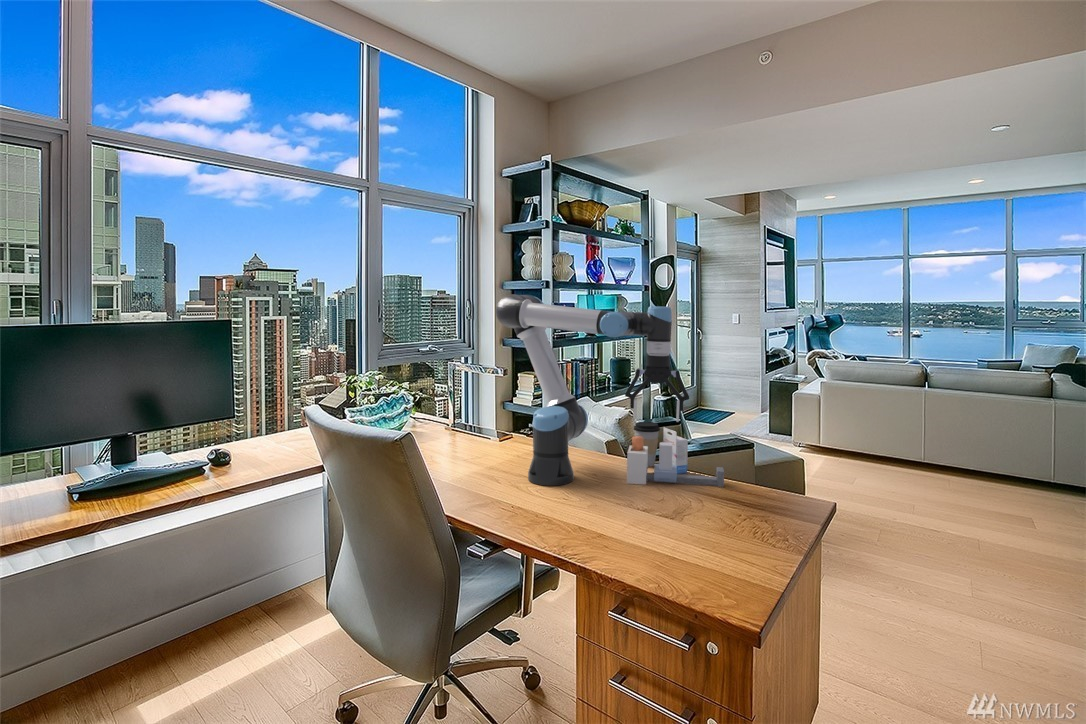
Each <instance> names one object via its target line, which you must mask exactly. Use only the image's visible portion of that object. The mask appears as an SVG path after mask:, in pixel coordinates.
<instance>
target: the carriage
mask: <svg viewBox="0 0 1086 724" xmlns="http://www.w3.org/2000/svg"><path fill="white" fill-rule="evenodd" d="M658 449H659V450H658V451H659V452H658V453H659V455H658V459H659V461H658V463H655V465H654V470H653V473H654V481H664V482H663V483H666V482H676V479H677V475H678V474H677V465H672V443H663V441H662V442H659V448H658Z"/></svg>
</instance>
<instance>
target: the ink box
mask: <svg viewBox="0 0 1086 724" xmlns="http://www.w3.org/2000/svg"><path fill="white" fill-rule="evenodd" d="M662 432H663V436H662V442H663V443H672V465H677V475H682V474H687V473H688V453H689V451H688V448H689V447H688V443H689V440H688V438H687V439H686V438H683V437H681V436H678V435H677V434H678V433H677V431H675V430H672V429H670V428H667V427H665V426H663V431H662Z"/></svg>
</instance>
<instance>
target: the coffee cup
mask: <svg viewBox="0 0 1086 724" xmlns="http://www.w3.org/2000/svg"><path fill="white" fill-rule="evenodd" d="M633 430H634V432H635V433H634V434H635V436H641V437H643V438H644V439H643V446H648V468H649V467H651V468H652V467H655V464H656V455H657V452H658V451H657V450H658V443H659V432H660V431H661V427H660V426H659V424H658V422H657V423H656V422H654V421H638V422H635V425H634V426H633Z"/></svg>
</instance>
